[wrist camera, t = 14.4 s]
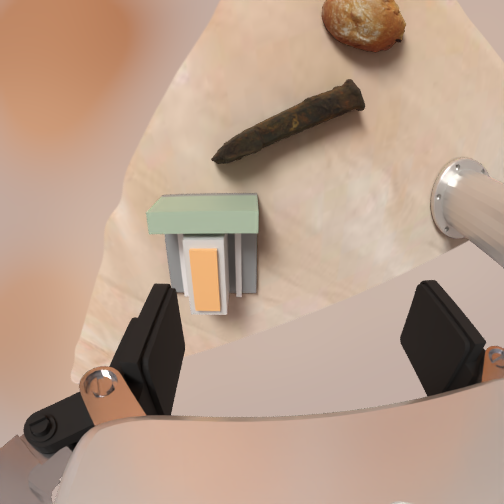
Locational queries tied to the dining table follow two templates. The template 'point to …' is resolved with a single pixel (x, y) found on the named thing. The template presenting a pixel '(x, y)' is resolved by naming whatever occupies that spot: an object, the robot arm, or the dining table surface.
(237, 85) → the dining table surface
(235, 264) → the chute mount
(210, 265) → the holder
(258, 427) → the robot arm
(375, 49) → the bread roll
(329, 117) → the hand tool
